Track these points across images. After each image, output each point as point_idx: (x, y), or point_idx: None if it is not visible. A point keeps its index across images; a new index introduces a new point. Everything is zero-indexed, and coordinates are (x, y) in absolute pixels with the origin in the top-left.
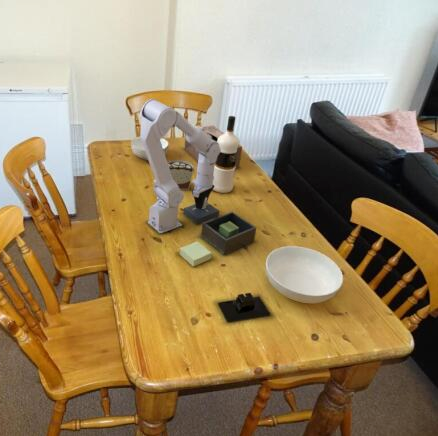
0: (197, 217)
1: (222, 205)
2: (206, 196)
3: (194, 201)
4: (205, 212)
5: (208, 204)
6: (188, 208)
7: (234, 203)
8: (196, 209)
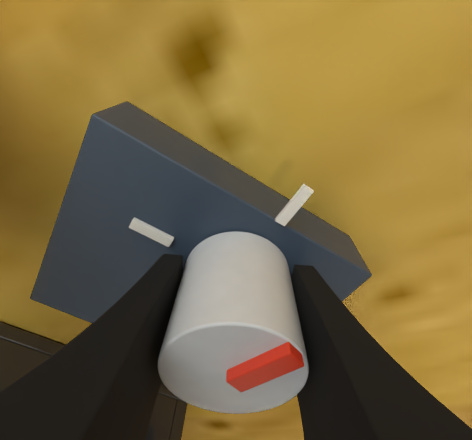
0: (39, 293)
1: (399, 331)
2: (304, 400)
3: (308, 190)
4: None
5: None
6: (120, 173)
7: (441, 375)
8: (157, 252)
